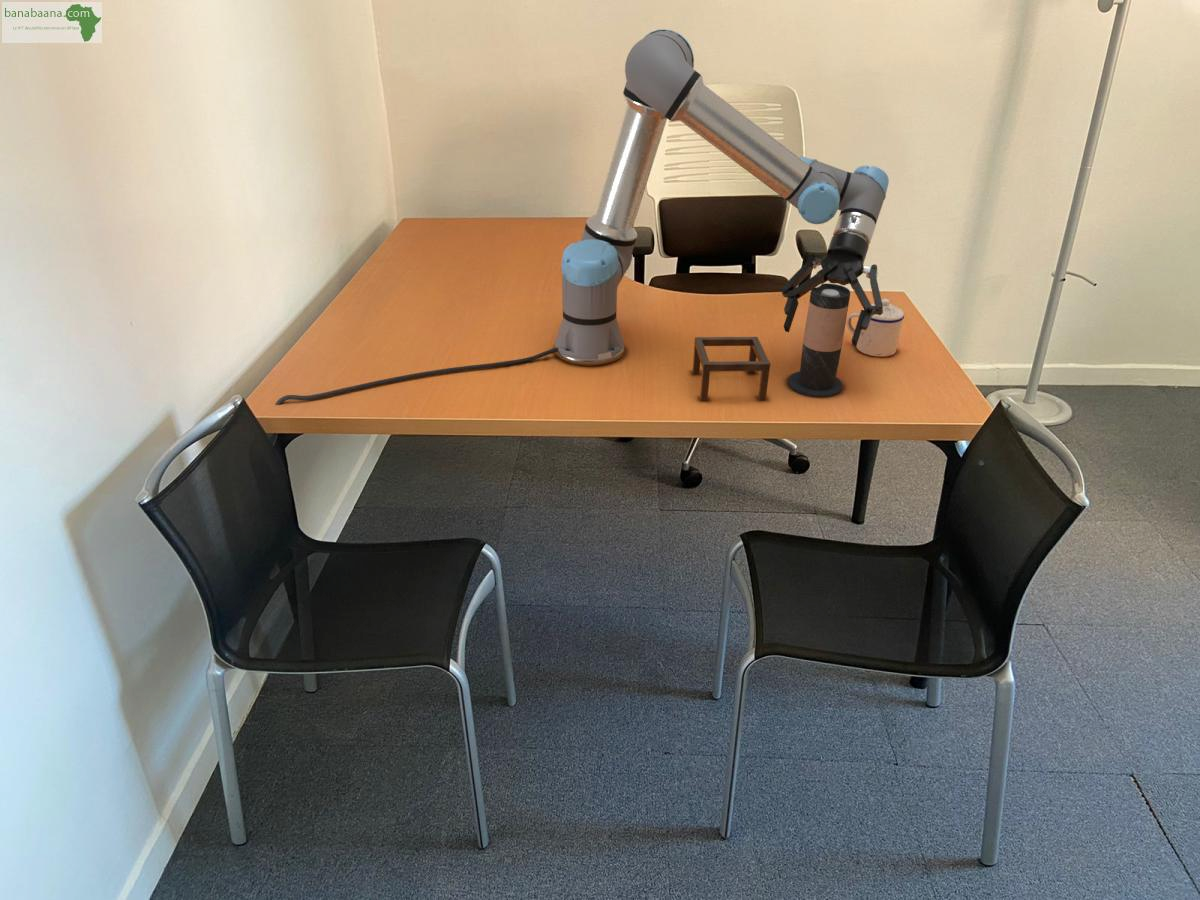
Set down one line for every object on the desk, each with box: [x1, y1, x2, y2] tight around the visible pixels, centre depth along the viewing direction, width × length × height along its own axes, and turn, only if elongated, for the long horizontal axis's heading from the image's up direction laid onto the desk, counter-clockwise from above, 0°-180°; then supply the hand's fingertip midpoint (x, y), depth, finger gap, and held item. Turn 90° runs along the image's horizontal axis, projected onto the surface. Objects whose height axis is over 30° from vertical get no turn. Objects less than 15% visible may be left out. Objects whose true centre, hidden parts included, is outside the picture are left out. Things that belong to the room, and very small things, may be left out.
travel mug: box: [799, 283, 851, 390], centre depth 173 cm, size 8×8×20 cm
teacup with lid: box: [846, 298, 905, 358], centre depth 192 cm, size 12×9×12 cm
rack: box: [692, 336, 771, 402], centre depth 176 cm, size 13×13×8 cm
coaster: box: [787, 371, 843, 398], centre depth 178 cm, size 11×11×1 cm
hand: (819, 336), depth 171 cm, fingers open, 13 cm apart
